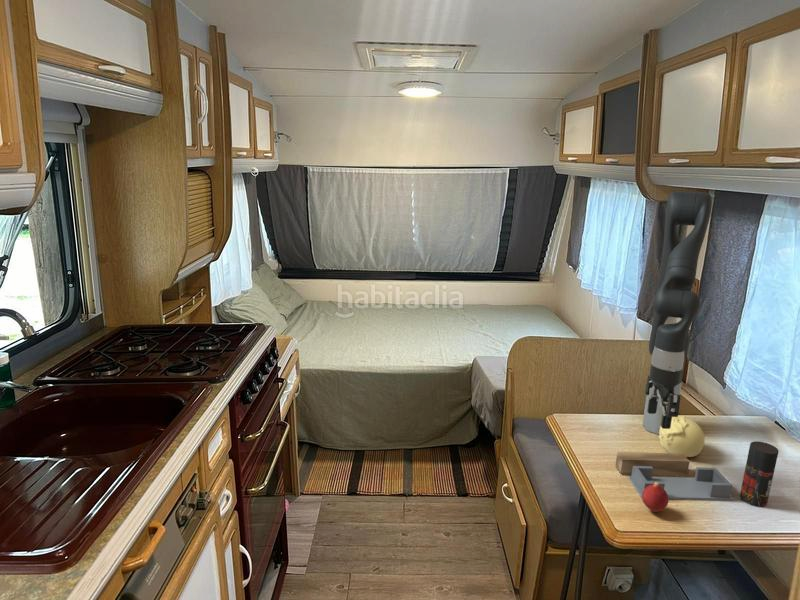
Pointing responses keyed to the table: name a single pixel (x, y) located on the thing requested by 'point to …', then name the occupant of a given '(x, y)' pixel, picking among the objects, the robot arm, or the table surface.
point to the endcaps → (685, 484)
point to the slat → (653, 463)
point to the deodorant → (758, 473)
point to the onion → (655, 497)
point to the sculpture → (682, 437)
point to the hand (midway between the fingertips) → (658, 420)
